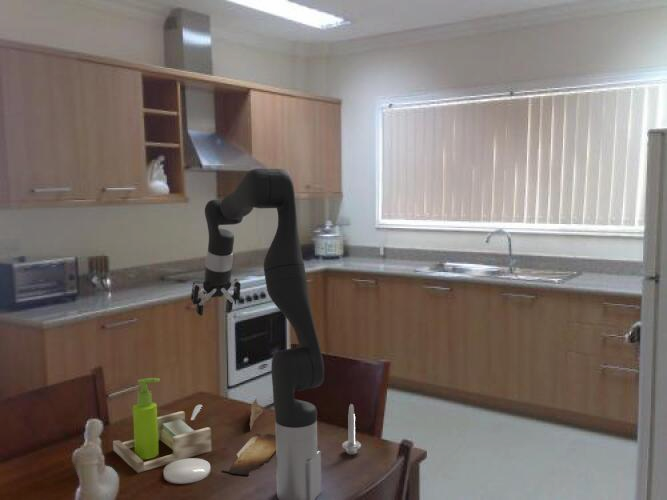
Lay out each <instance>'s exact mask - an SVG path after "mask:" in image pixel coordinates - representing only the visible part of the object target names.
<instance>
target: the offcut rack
mask: <svg viewBox="0 0 667 500" xmlns="http://www.w3.org/2000/svg"><path fill="white" fill-rule="evenodd" d="M157 422H158V441H160V442H161V443H164V444H165V445H166V446H167V447H169V448H170V449H171V450H172V453H171V454H169V455H165V456H162V457H158V458H153V459H150V460H147V461H145V460H141V459H140V458H139V457H138V456H137V455H136V454H135V452H134V451H133V450H131V449H133V448H135V444H134V438H133V439H130V440H127V441H123V442H122V441H121V440H120V439H117V440H113V441H112V447H113V448H112V449H113V452H114V453H116V454H117V455H118V456H119V457H120V458H121V459H122V460H123V461H124V462H125V463H126V464H127V465H128V466H130V467H131V468H132V469H133V470H134V471H135V472H136V473H137V474H140V473H143V472H145V471H149V470H153V469H155V468H158V467H162V466H167V465H168V464H170V463H172V462H174V461H177V460H181V459H188V458H193V457H196V456H199V455H202V454H205V453H209V452H212V429H211V428H210V427H203V428H200V429H196V430H194V429H193V428H191V426H189V425H188V424H187V423H186V412H185V411H183V410H181V411H180V410H179V411H177V412H173V413H172V412H171V413H169V414H166V415H161V416H157Z"/></svg>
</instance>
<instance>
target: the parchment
mask: <svg viewBox="0 0 667 500" xmlns="http://www.w3.org/2000/svg"><path fill="white" fill-rule="evenodd" d="M274 454H276V434H272V433H271V434H270V433H266V434H264V435H261V434H259V433H256V434H255V436H252V437H251V438H250V439H249V440H248V441H247V442H246V443H245V444H244V445H243V447H242V448H241V449H240V450H239V451H238V452H237V453H236V456H237V459H236V461H234V463H233V465H231V467H230V469H229V470H228V471H227V470H223V469H222V472H224V473H225V472H226V473H229V474H233V476H234V475H238V476H239V475H240V476H245V477H246V476H247V477H249V476H250V475H249V474H250V473H252V472H253V471H257V470H260V469H261V467H262V466H264V464H267V463H269V461H270V458H272V456H273V455H274ZM239 461H240V462H239Z"/></svg>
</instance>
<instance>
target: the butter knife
mask: <svg viewBox="0 0 667 500" xmlns="http://www.w3.org/2000/svg"><path fill="white" fill-rule="evenodd" d="M201 407H202V408H203V404H197V405H196V406H195V407H194V409H193V411H192V414H191V418H190V421H194V420H195V418H196V416H197V415H198V413H200V412H201V410H202V408H201ZM200 409H201V410H200Z"/></svg>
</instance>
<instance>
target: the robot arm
mask: <svg viewBox="0 0 667 500" xmlns="http://www.w3.org/2000/svg"><path fill="white" fill-rule="evenodd" d="M295 194H296V192H295V185H294V180H293V178H292V175H291V173H290V172H289V171H288V170H287V169H284V168H255V169H251V170H249V171H248V172H247V173H245V175H244V176H243V178H242V179H241V181H240V182H239V183H238V185H237V186H236V188H235V189H234V191H232V192H230V193H229V194H227V195H225V197H223V199H211V200H209V201H207V203H206V204H205V207H204V216H205V220H206V224H207V231H208V246H207V252H206V256H205V257H206V258H205V267H204V277H203V279H204V280H203V282H202V283H197V282H196V281H195V282H193V284H192V287H191V294H190V300H191V302H192V304H194V305H196V307H195V308H196V310H195V311H196V313H197V314H198V316H200V317H201V316H203V314H204V304H205V302H206V301H209V299H210V298H216V297H217V298H218V297H223V296H225V297H226V301H225V302H226V303H225V304H226V305H225V311H226V313H227V314H230V313H231V312H232V310H233V304H234V301H240V298H241V282H240V281H239V280H238V279H237V278H236V279H234V280H231V279H232V270H233V262H234V260H233V259H234V257H233V253H234V252H233V251H234V241H235V235H234V234H233V232H232V231H230V230H229V229H224V228H221V227H219V226H223V225H224V226H225V225H227V226H229V225H230V226H231V225H238V224H240V223H242V220H243V219H244V217H246V216H247V215H249V214H251V212H252V211H253V209H254V208H256V209H276V210H277V228H276V232H275V234H274V237H273V239H272V242H271V244H270V246H269V248H268V251H267V253H266V255H265V258H264V261H263V272H264V273H263V274H264V281H265V287H266V292H267V294H268V296H269V297H270V299H271V301H272V302H273V303H274V305H275V306H276V308H277V309H279V311H280V313H282V315H283V316H284V317H285V318H286V319H287V320H288V322H289V323H290V325H291V326H292V328H293V331H294V333H295V336H296V339H297V343H298V347H294V348H288V349H281V350H278V351H276V352H274V354H273V356H272V359H271V365H270V366H271V368H270V369H271V381H272V382H271V383H272V396H273V397H272V399H273V400H272V401H273V408H274V409H273V410H274V415H275V416H274V417H275V422H274V423H275V435H276V451H275V463H276V464H275V466H276V467H275V469H276V478H275V479H276V496H277V499H278V500H316V498H317V497H318V496H319V495H320V494H321V492H322V451H320V450H318V410H317V407H316V406H315V405H314V404H313V403H311V402H309V401H306V400H305V401H304V400H301V399H300V400H299V399H295V392H299V391H304V390H310V389H314V388H318V387H321V386H322V384H323V383H324V380H325V364H324V363H325V362H324V358H323V355H322V354H323V353H322V349H321V346H320V341H319V338H318V333H317V330H316V327H315V326H316V325H315V322H314V318H313V313H312V308H311V301H310V295H309V289H308V280H307V275H306V269H305V263H304V262H305V261H304V258H303V252H302V249H301V248H302V247H301V246H302V245H301V242H300V236H299V228H298V218H297V217H298V216H297V205H296V203H297V202H296V195H295ZM231 287H232V288H233V294H230V293H229V290H230V288H231ZM201 290H202V291H201ZM199 293H200V295H199Z"/></svg>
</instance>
